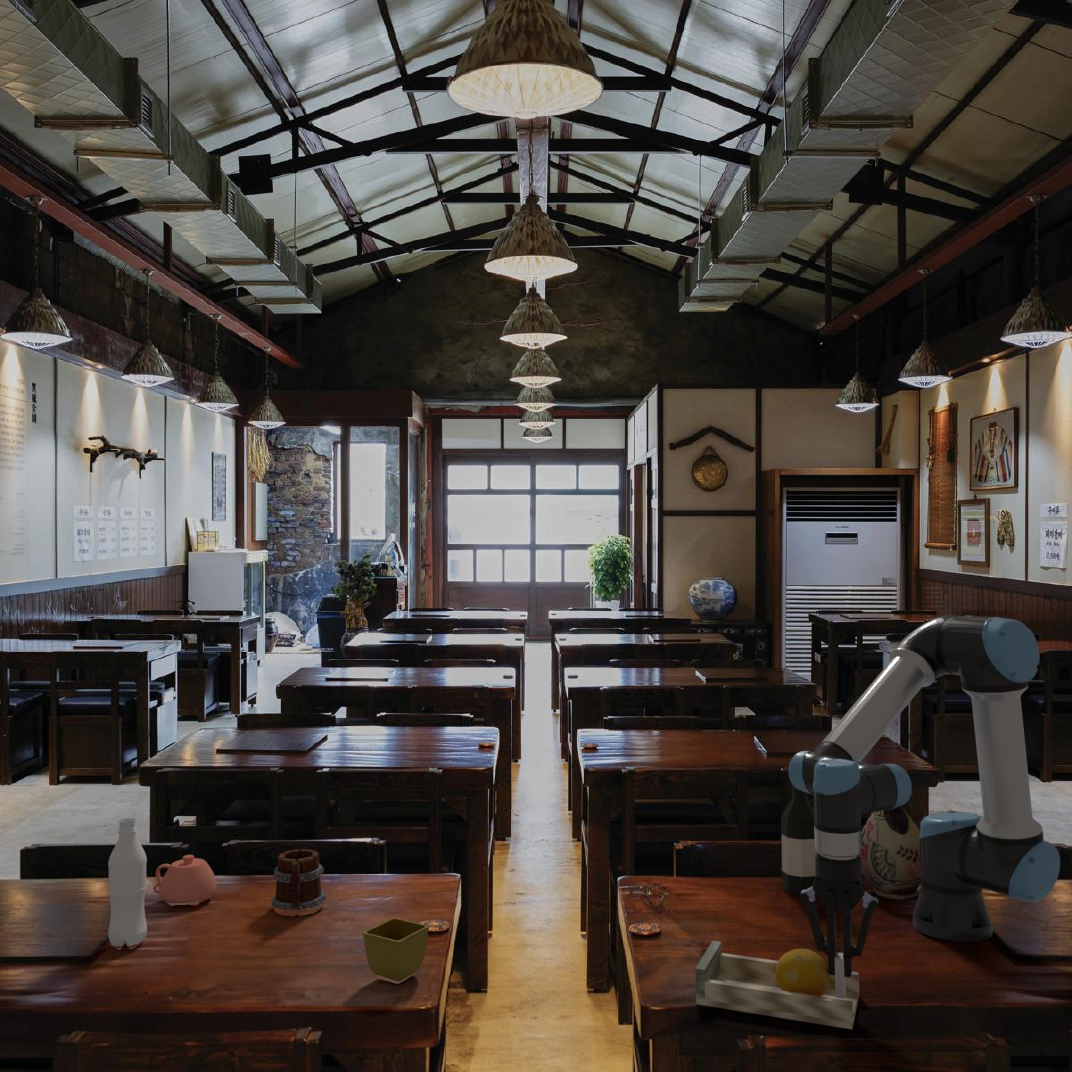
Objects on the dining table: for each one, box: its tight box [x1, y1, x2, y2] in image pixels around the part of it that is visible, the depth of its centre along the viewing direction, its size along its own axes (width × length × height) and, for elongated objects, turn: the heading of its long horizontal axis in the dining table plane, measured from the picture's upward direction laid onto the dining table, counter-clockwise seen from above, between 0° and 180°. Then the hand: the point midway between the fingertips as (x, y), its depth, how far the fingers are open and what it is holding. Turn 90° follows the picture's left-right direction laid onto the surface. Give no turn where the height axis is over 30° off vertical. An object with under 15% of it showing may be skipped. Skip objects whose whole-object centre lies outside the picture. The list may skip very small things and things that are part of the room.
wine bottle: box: [780, 783, 817, 896], centre depth 230 cm, size 8×8×30 cm
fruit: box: [776, 948, 829, 996], centre depth 171 cm, size 9×8×8 cm
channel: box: [694, 940, 860, 1030], centre depth 173 cm, size 26×13×6 cm, turn 68°
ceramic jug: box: [859, 762, 921, 901], centre depth 226 cm, size 17×15×30 cm
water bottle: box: [107, 817, 148, 947], centre depth 200 cm, size 7×7×25 cm
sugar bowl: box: [152, 854, 218, 903], centre depth 226 cm, size 12×14×10 cm
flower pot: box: [362, 917, 429, 982], centre depth 183 cm, size 9×9×9 cm
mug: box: [270, 848, 327, 910], centre depth 219 cm, size 12×14×15 cm
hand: (840, 994), depth 169 cm, fingers closed
